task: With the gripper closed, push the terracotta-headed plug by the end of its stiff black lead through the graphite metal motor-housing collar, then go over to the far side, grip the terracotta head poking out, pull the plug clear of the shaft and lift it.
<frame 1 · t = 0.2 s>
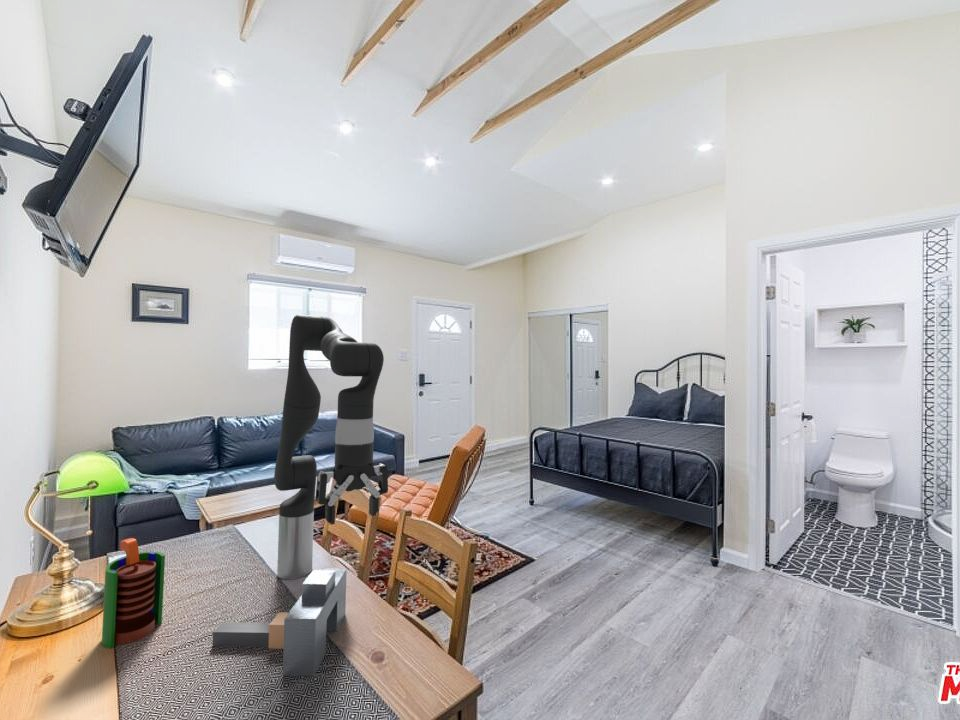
hand: (352, 519, 85), 29 cm above the table, fingers open, 8 cm apart
product box: (122, 586, 111), on the table
housing: (317, 641, 90), on the table
plug: (257, 641, 90), on the table
motor: (130, 633, 92), on the table
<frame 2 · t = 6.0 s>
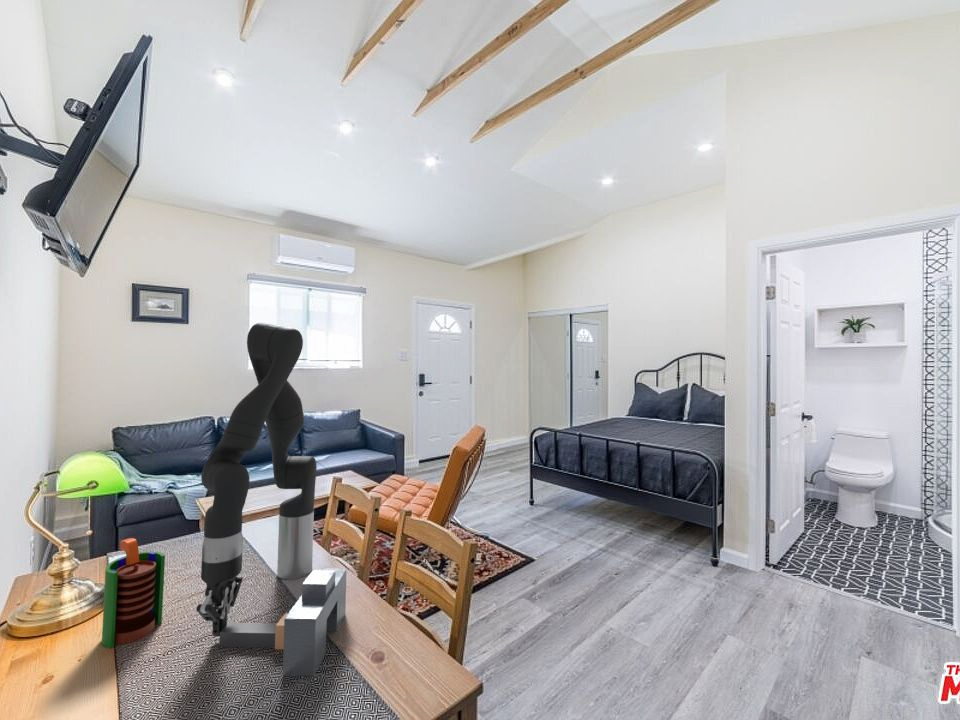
hand: (219, 633, 90), 2 cm above the table, fingers closed
plug: (263, 642, 90), on the table
everything else where it was.
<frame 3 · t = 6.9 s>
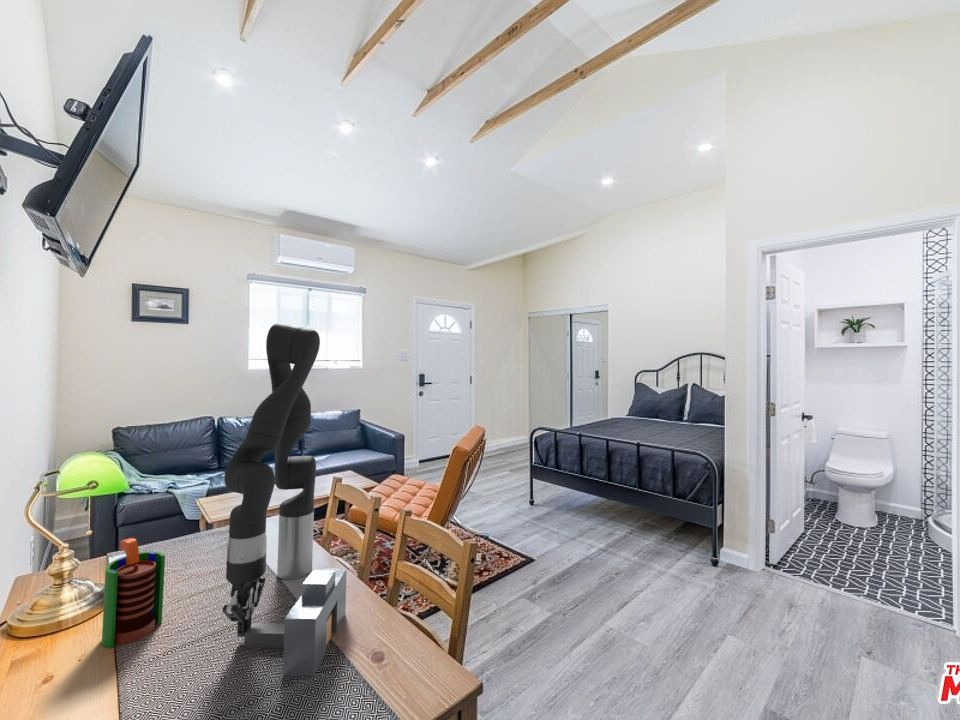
hand: (244, 634, 90), 2 cm above the table, fingers closed
plug: (288, 642, 90), on the table, touching gripper
everything else where it was.
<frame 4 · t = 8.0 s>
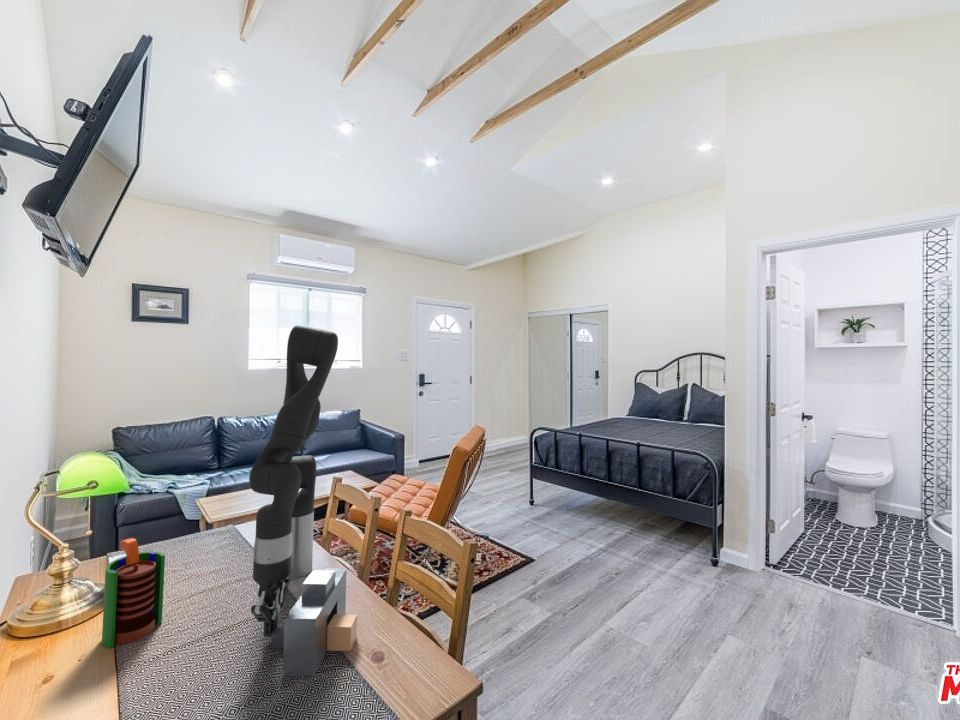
hand: (270, 634, 90), 2 cm above the table, fingers closed
plug: (314, 643, 90), on the table, touching gripper
everything else where it was.
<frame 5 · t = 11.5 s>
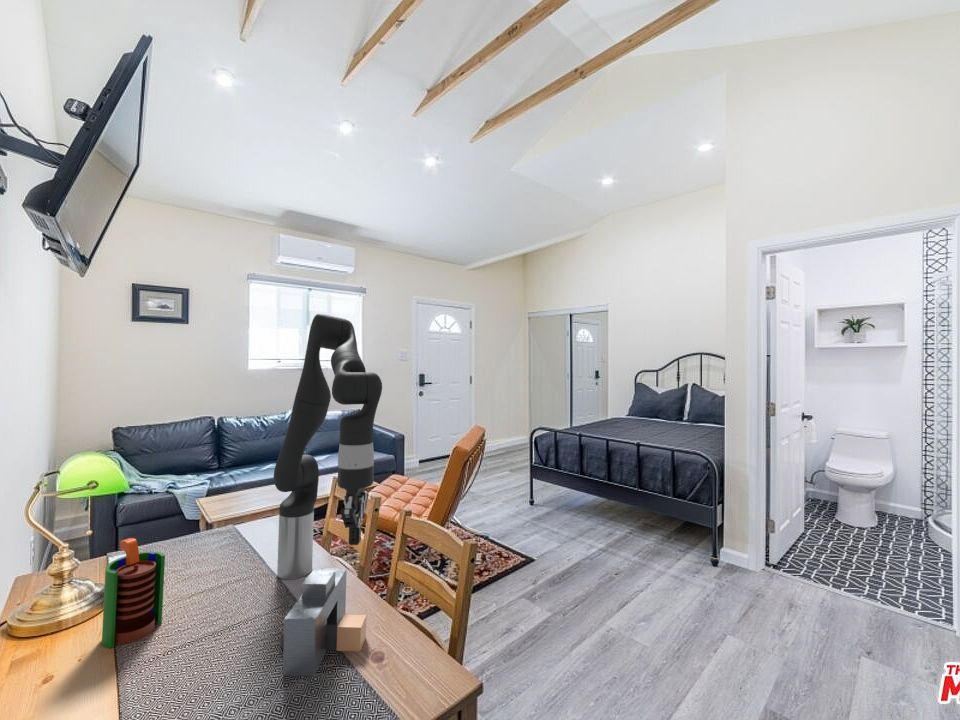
hand: (354, 543, 90), 22 cm above the table, fingers closed
plug: (323, 643, 90), on the table
everything else where it was.
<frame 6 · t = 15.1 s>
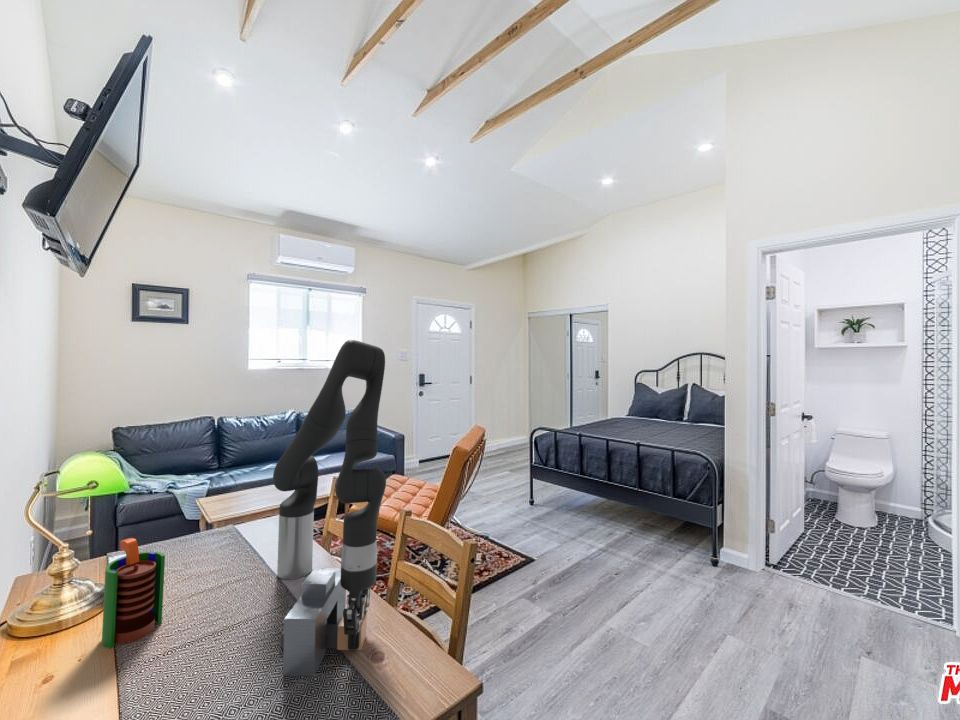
hand: (356, 639, 90), 1 cm above the table, fingers closed on plug, 4 cm apart
plug: (324, 642, 90), on the table, touching gripper
everything else where it was.
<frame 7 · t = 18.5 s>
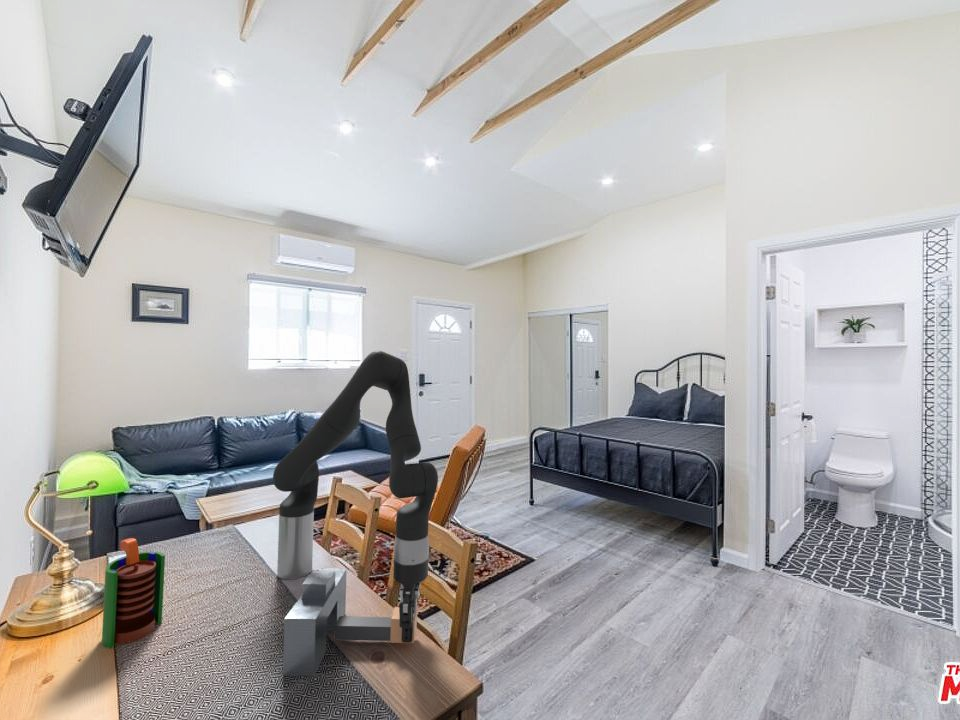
hand: (408, 633, 91), 2 cm above the table, fingers closed on plug, 4 cm apart
plug: (376, 635, 91), point 1 cm above the table, touching gripper
everything else where it was.
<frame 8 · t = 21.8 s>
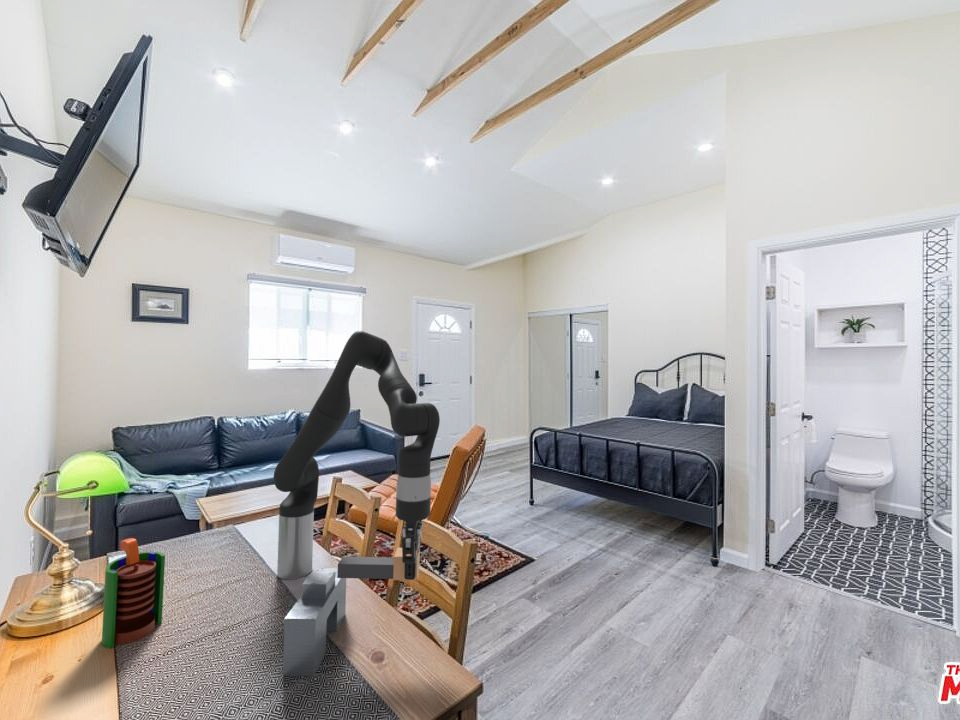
hand: (411, 572, 91), 15 cm above the table, fingers closed on plug, 4 cm apart
plug: (379, 574, 91), point 15 cm above the table, touching gripper
everything else where it was.
at the end: the gripper is holding plug; plug point 14.7 cm above the table; plug inside the target area on the housing (1.0 cm from its centre), point 14.7 cm above the housing's base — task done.
